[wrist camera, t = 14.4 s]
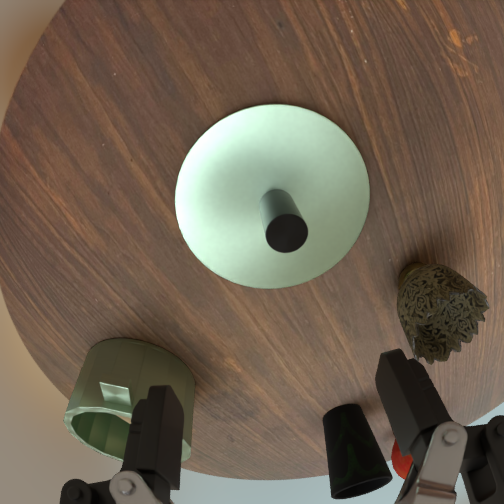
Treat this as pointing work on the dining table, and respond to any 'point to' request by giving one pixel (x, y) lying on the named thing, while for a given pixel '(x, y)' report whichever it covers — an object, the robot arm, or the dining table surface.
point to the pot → (124, 393)
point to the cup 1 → (353, 453)
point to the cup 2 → (438, 310)
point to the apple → (400, 461)
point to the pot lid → (272, 196)
